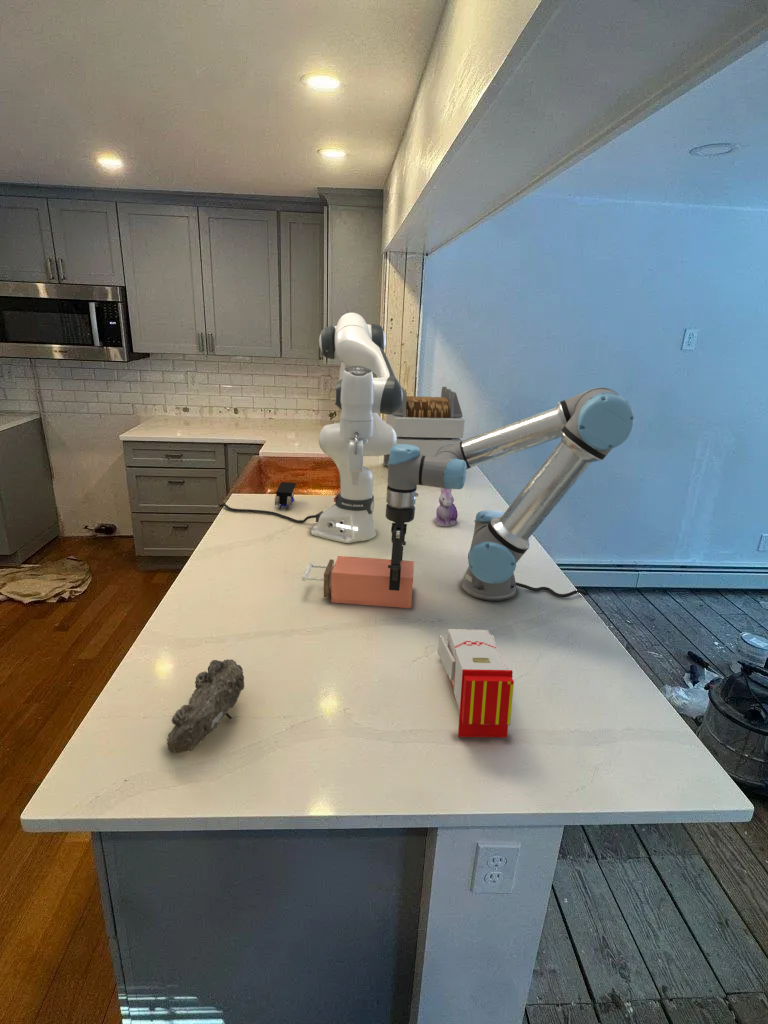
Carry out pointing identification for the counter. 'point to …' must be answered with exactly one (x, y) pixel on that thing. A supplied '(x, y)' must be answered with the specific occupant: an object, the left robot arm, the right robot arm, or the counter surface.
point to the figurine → (446, 509)
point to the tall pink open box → (370, 582)
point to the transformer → (427, 422)
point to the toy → (478, 682)
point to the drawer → (326, 579)
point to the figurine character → (285, 494)
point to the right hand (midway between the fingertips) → (395, 578)
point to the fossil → (206, 705)
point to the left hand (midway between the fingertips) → (355, 479)
